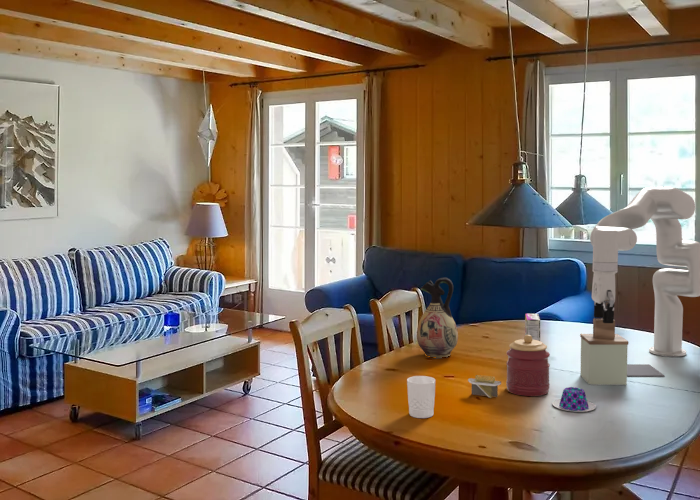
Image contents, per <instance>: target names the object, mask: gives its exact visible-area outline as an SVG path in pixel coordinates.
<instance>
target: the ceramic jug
mask: <svg viewBox="0 0 700 500" xmlns="http://www.w3.org/2000/svg"><path fill="white" fill-rule="evenodd" d="M441 284H446V285H447V286H448V292H447V296H446V299H445V301H444V302H443V299H442V297H441V296H444V295H445V290H444V289H443V288H442V287H441V286H440V285H441ZM420 291H422V292H425V293H428V294H429V295H430V296H431V302H430V303H429V304H428V306H427V307H426V309H425V310H424V311H423V314H422V315H421V317H420V319H419V322H418V325H417V330H416V340H417V341H416V342H417V344H418V346H419V347H420V349H421V350H422V351H423V352H424V355H425V354H426V355H427V356H430V357H436V358H435V359H443V358H442V357H446V358H449V357H448V356H450V355H451V353H452V351H453V350H454V349H455V347H456V346H457V345H458V340H459V333H458V328H457V324H456V321H455V320H454V318H453V316H452V312H451V309H450V303H451V299H452V297H453V294H454V293H453V292H454V284H453V282H452V280H451V279H450V278H448V277H440V278H437V279H436V281H435V282H434V283H433V281H432V280H431V279H430V280H428V281H427V282H425V284H424V285H423V286H422V287H421V288H420ZM450 357H451V356H450Z"/></svg>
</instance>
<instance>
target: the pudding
mask: <svg viewBox="0 0 700 500" xmlns="http://www.w3.org/2000/svg"><path fill="white" fill-rule="evenodd" d="M551 404H552V406H554V407H555V408H557V409H559V410H563V411H568V412H575V413H583V412H590V411H593V410H595V409H596V408H597V406H596V404H594V403H593V402H591V401H589V400H587V395H586V392H585V390H584V389H583V388H579V387H574V386H573V387H572V386H570V387H565V388H564V389H563V391H562V394H561V398H558V399H555V400H553V401H552V403H551Z"/></svg>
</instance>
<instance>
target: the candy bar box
mask: <svg viewBox="0 0 700 500" xmlns="http://www.w3.org/2000/svg"><path fill="white" fill-rule="evenodd" d="M524 325H525V327H524V329H525V330H524V332H525V333H524V336H525V335H531V336H532V338H533V340H538V341H541V318H540V316H539V313H525V315H524Z"/></svg>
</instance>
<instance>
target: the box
mask: <svg viewBox="0 0 700 500" xmlns="http://www.w3.org/2000/svg"><path fill="white" fill-rule="evenodd" d="M628 345H629V344H628ZM628 345H589V344H588V343H587V342H586V341H585V340H583V339H582V338H581V337H580V375H579V376H580V377H582V379H583V380H584V381H585V382H586V383H587V384H588V385H591V386H592V385H597V386H598V385H601V386H602V385H603V386H604V385H605V386H606V385H610V386H611V385H614V386H615V385H618V386H619V385H623V386H627V384H628V382H627V381H628V377H627V364H628Z"/></svg>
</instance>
